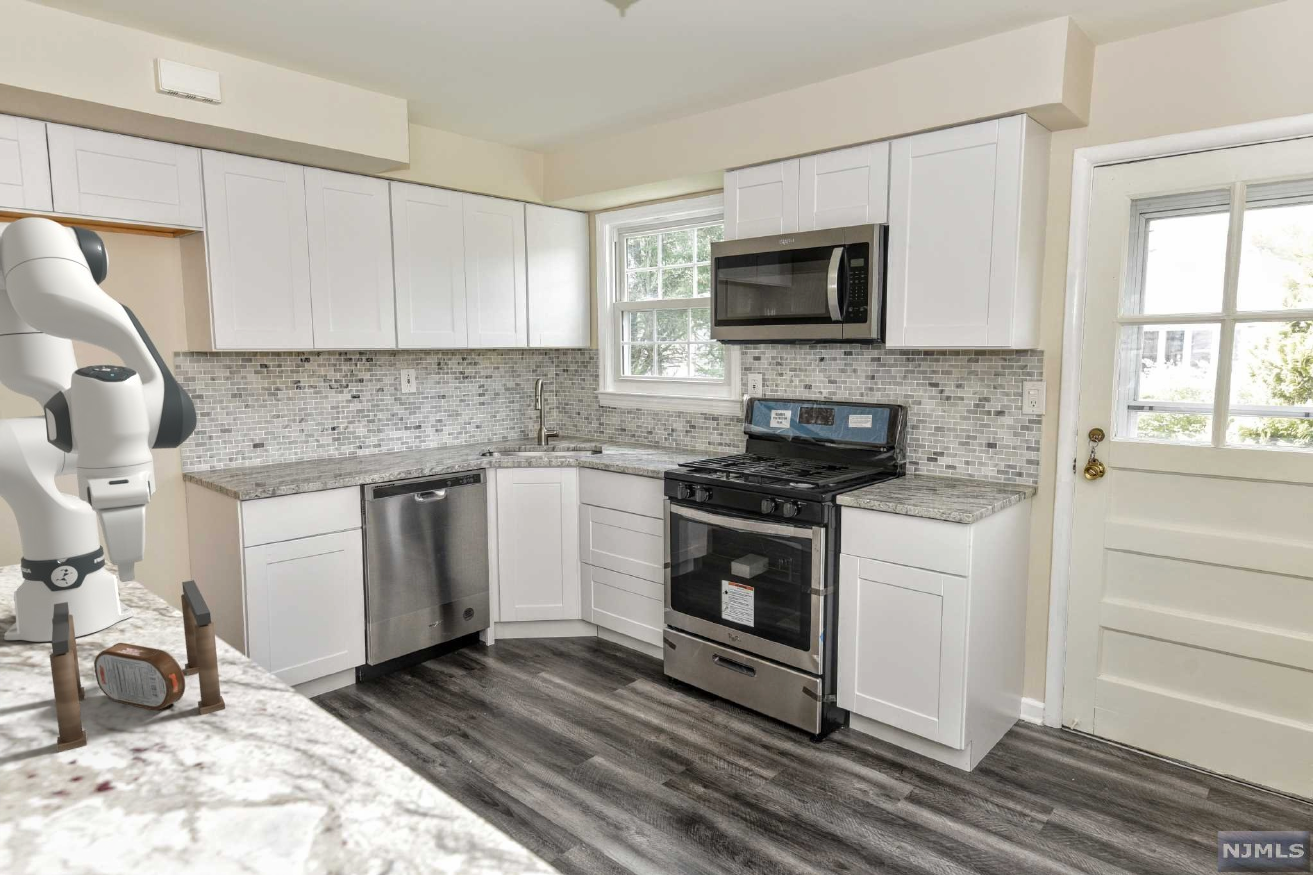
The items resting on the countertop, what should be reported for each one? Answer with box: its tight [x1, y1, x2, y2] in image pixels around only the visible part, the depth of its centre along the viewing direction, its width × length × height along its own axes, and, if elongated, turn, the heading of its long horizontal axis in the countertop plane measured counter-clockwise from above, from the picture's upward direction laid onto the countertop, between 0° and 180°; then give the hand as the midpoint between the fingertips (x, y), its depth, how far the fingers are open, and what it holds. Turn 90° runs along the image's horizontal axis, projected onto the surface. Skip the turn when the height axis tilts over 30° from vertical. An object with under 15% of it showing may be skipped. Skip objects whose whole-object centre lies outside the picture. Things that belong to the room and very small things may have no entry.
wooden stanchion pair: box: [49, 593, 226, 753], centre depth 112 cm, size 19×19×12 cm
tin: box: [93, 642, 186, 711], centre depth 113 cm, size 15×3×8 cm, turn 71°
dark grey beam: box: [181, 579, 212, 626], centre depth 116 cm, size 18×2×2 cm, turn 37°
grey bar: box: [51, 602, 69, 655], centre depth 106 cm, size 18×2×2 cm, turn 37°
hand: (127, 578), depth 111 cm, fingers closed
